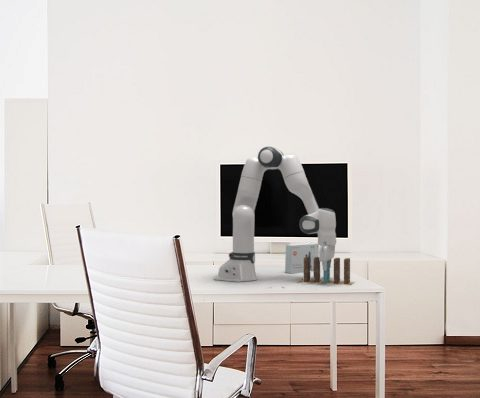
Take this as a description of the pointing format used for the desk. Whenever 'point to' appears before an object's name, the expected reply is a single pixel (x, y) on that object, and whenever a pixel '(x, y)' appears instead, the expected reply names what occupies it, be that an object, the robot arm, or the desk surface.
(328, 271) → the tile
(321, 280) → the oak board
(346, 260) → the tile
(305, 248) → the skincare box
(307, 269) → the dark wood plank
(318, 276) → the tile
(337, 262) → the tile
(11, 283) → the desk surface
